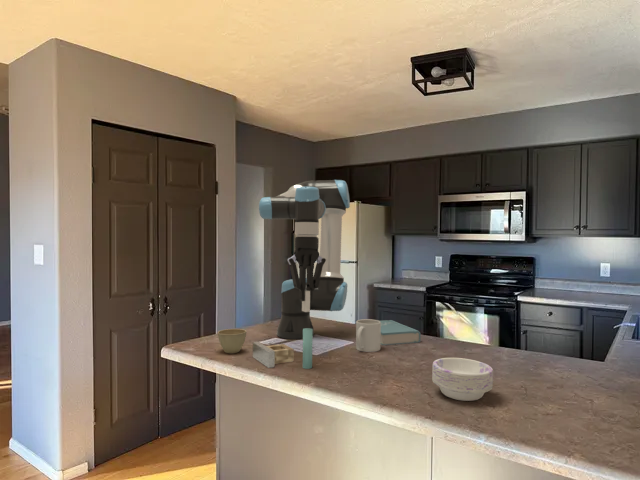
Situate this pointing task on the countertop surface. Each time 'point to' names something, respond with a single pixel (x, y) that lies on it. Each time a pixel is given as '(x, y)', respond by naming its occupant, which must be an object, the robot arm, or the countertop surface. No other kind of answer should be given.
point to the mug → (368, 335)
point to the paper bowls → (462, 378)
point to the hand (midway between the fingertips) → (305, 311)
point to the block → (282, 353)
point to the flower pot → (232, 339)
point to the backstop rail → (264, 354)
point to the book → (398, 333)
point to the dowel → (307, 348)
